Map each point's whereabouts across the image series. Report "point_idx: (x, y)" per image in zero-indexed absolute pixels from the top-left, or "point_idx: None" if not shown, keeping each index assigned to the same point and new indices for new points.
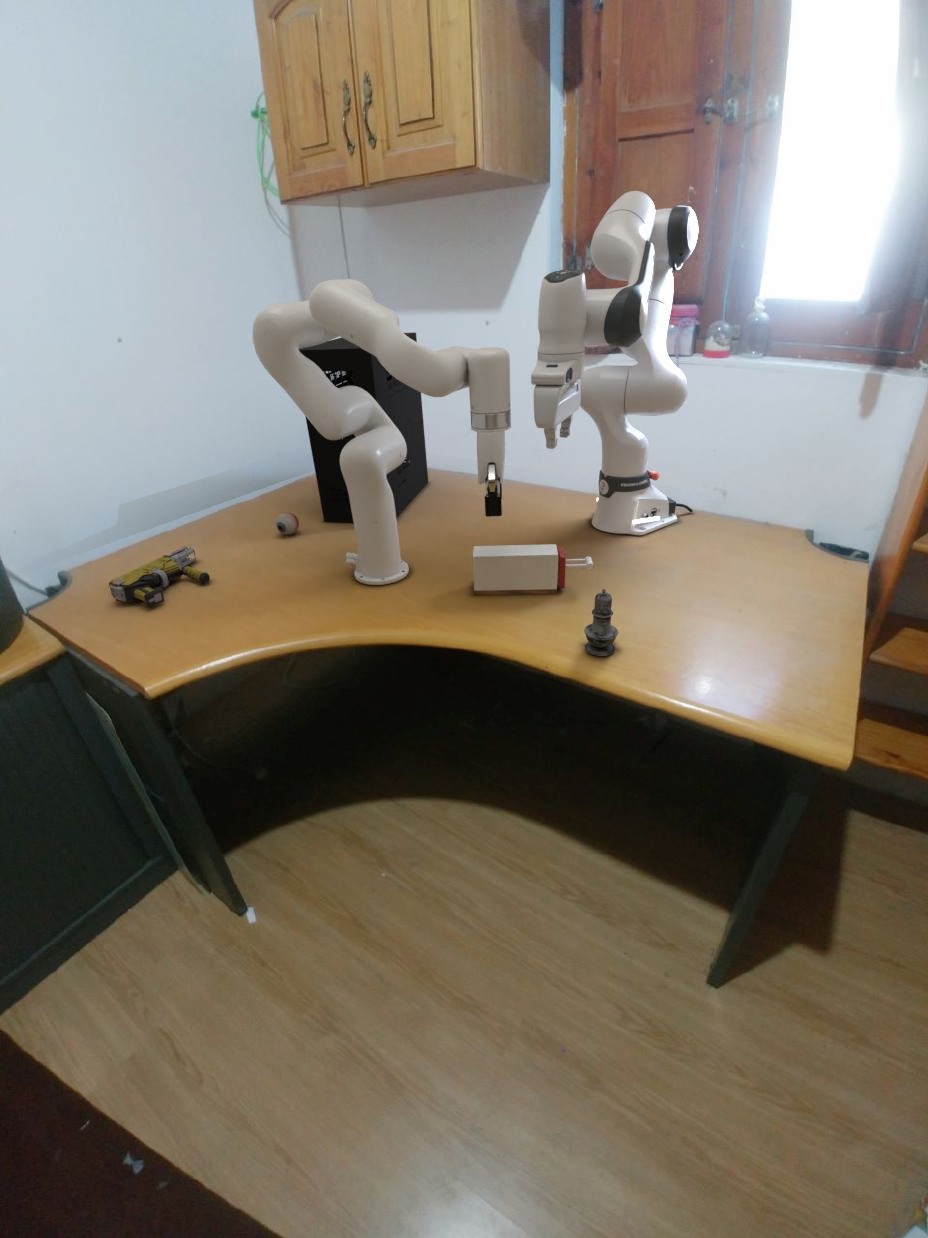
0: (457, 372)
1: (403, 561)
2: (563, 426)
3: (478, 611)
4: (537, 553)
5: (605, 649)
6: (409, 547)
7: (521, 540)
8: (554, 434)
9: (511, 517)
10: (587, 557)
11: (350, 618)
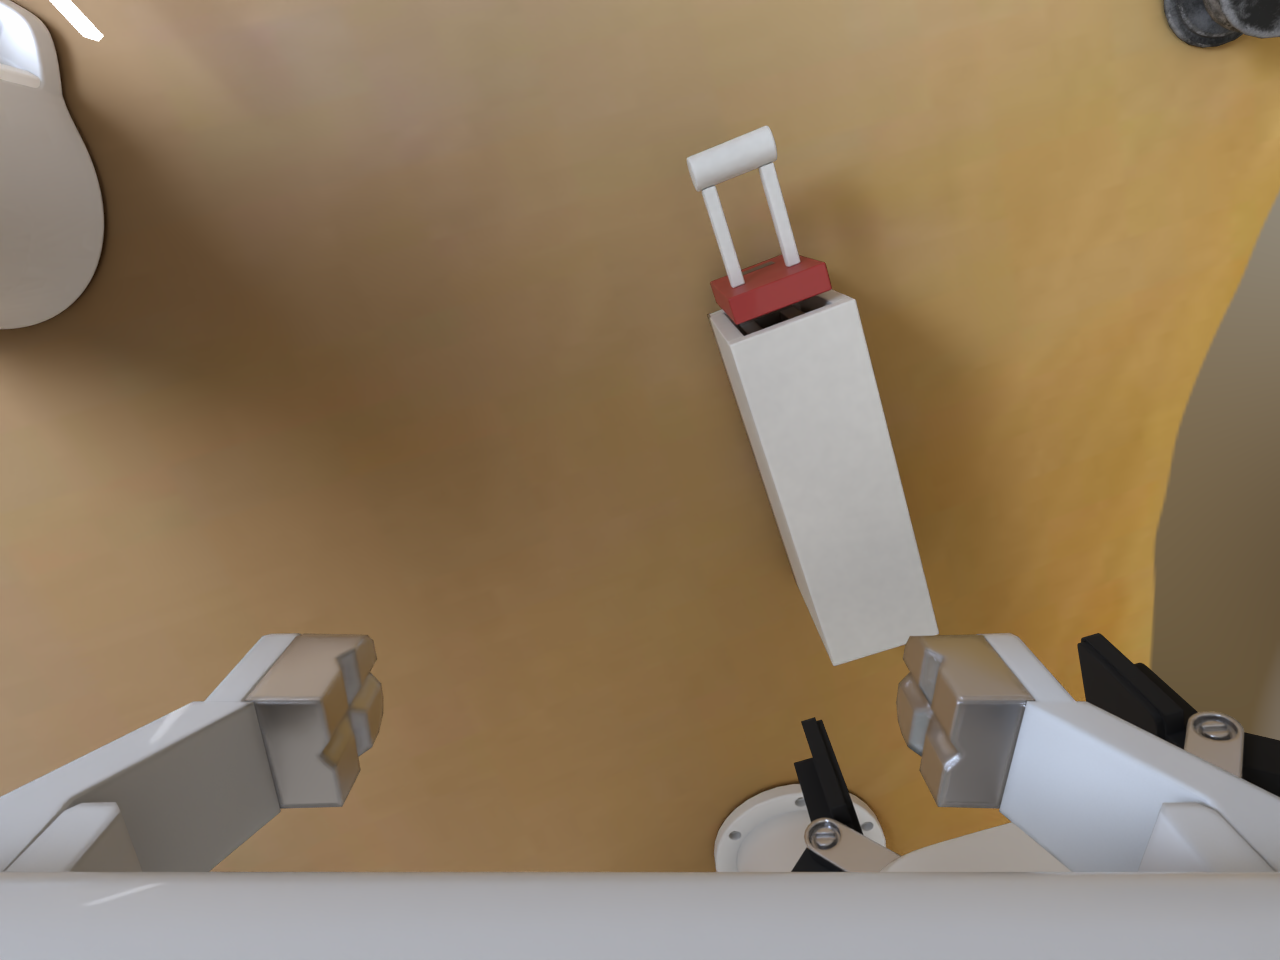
0: None
1: (730, 829)
2: (254, 793)
3: (990, 498)
4: (860, 396)
5: None
6: (588, 857)
7: (374, 556)
8: (1204, 764)
9: (166, 665)
10: (705, 175)
11: None
